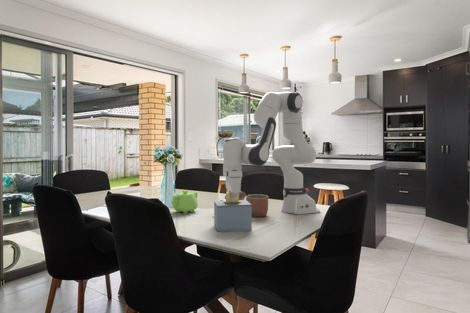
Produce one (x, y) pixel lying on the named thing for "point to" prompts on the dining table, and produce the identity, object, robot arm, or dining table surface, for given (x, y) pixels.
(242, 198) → the decorative box
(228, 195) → the block
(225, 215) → the moneybox
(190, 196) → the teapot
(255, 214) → the planter
